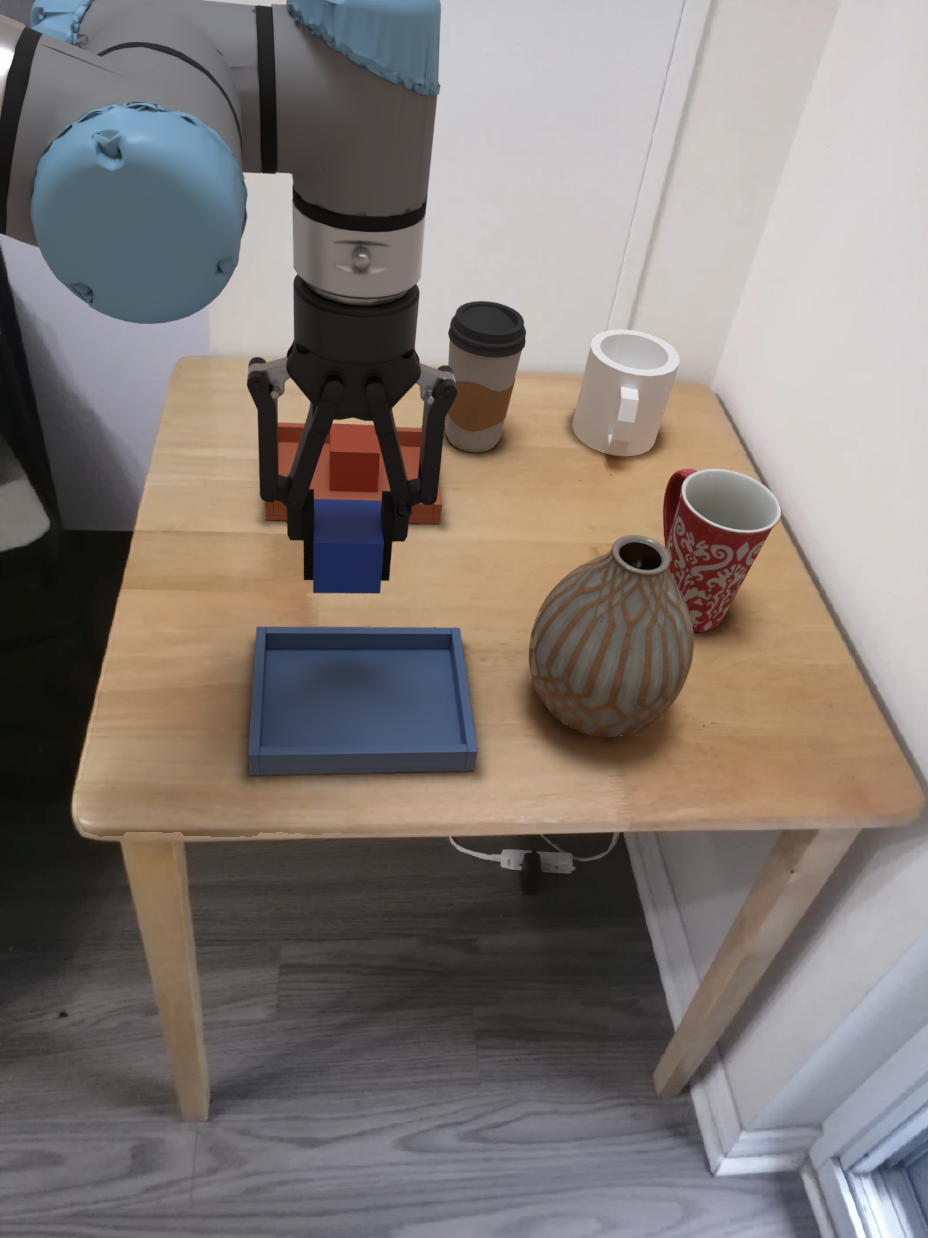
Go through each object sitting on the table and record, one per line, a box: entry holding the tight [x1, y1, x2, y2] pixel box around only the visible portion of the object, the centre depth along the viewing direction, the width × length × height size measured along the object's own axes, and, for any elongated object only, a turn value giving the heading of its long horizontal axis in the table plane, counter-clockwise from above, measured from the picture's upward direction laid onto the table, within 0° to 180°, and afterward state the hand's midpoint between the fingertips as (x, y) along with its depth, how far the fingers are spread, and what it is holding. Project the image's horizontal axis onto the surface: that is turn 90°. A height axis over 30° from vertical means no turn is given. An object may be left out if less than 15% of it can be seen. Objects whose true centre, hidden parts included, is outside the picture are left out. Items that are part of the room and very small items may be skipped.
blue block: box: [312, 499, 384, 594], centre depth 70 cm, size 5×5×5 cm
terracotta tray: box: [264, 421, 443, 525], centre depth 99 cm, size 18×14×3 cm
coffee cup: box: [444, 300, 527, 453], centre depth 103 cm, size 8×8×15 cm
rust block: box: [329, 422, 380, 492], centre depth 98 cm, size 5×5×5 cm
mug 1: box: [571, 328, 680, 457], centre depth 108 cm, size 14×10×11 cm
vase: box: [528, 534, 695, 738], centre depth 76 cm, size 13×13×18 cm
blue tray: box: [247, 626, 479, 776], centre depth 78 cm, size 18×14×3 cm
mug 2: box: [662, 468, 782, 633], centre depth 89 cm, size 13×9×14 cm
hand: (346, 568), depth 72 cm, fingers closed on blue block, 5 cm apart
